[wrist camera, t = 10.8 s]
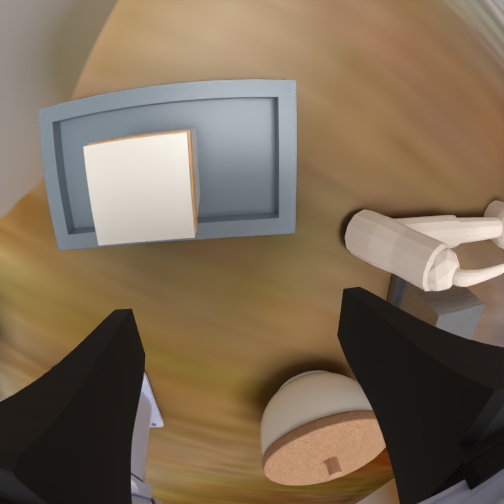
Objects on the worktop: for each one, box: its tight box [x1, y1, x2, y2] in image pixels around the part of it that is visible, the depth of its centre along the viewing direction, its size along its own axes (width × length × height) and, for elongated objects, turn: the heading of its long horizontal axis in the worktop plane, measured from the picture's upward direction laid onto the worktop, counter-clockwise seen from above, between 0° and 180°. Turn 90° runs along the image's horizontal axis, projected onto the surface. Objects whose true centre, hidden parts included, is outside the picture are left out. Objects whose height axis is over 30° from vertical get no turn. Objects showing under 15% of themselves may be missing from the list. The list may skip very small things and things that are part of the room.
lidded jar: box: [260, 370, 386, 485], centre depth 23 cm, size 11×11×9 cm
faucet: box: [345, 200, 504, 291], centre depth 19 cm, size 4×18×10 cm, turn 93°
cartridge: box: [83, 128, 200, 246], centre depth 14 cm, size 4×4×7 cm
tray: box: [38, 79, 297, 251], centre depth 17 cm, size 15×9×2 cm, turn 91°
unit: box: [387, 273, 485, 340], centre depth 22 cm, size 6×9×6 cm, turn 1°
